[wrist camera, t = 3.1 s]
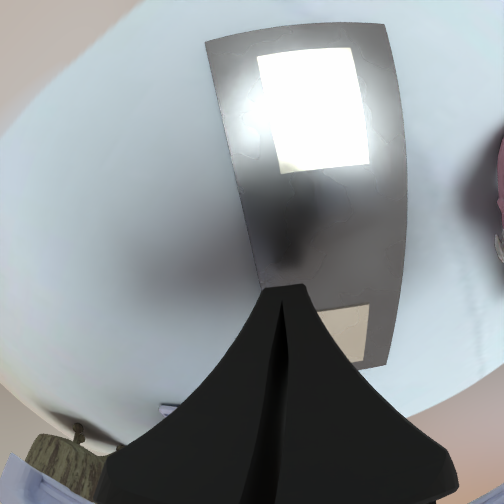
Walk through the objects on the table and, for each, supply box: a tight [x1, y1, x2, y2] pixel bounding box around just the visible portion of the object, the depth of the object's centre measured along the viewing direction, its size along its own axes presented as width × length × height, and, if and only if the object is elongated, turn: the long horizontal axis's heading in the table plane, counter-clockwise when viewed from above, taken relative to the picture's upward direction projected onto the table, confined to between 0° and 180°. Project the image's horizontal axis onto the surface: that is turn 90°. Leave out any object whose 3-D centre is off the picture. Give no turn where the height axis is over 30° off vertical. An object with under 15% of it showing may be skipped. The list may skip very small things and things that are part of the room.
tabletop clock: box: [25, 423, 125, 504], centre depth 17 cm, size 14×9×25 cm, turn 111°
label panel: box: [205, 22, 407, 370], centre depth 10 cm, size 16×6×1 cm, turn 12°
